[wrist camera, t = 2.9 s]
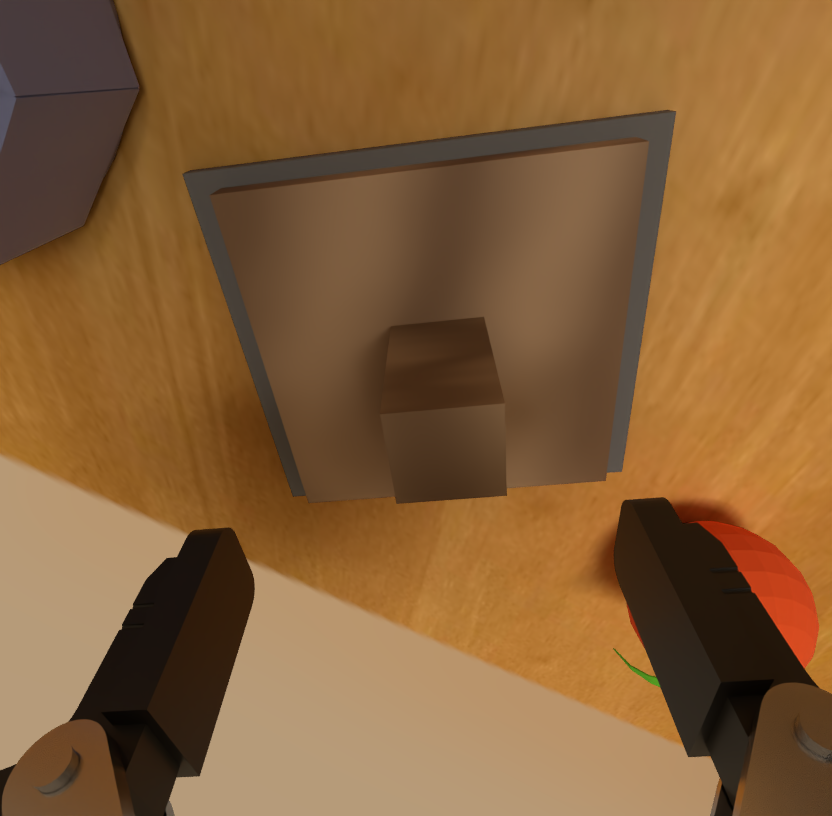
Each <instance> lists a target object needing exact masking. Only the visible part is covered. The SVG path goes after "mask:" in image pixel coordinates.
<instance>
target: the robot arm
mask: <svg viewBox="0 0 832 816" xmlns="http://www.w3.org/2000/svg"><path fill="white" fill-rule="evenodd" d="M614 565H615V571H616V575H617V579H618V582H619V584H620V587H621V589H622V592H623V594H624V597H625V599H626V602H627V604H628V607H629V609H630V612H631V614H632V617H633V619H634V622H635V624H636V627H637V629H638V632H639V635H640V637H641V640H642V642H643V645H644V647H645V650H646V652H647V655H648V657H649V660H650V662H651V665H652V667H653V670H654V672H655V675H656V677H657V680H658V682H659V685H660V687H661V690H662V692H663V695H664V697H665V700H666V702H667V705H668V707H669V710H670V712H671V715H672V717H673V720H674V722H675V725H676V727H677V730H678V732H679V735H680V737H681V740H682V742H683V745H684V747H685V750H686V752H687V755H688V757H700V756H711V758H712V760H713V763H714V765H715V767H716V770H717V772H718V774H719V777H720V779H719V782H718V785H717V789H716V793H715V797H714V802H713V806H712V810H711V814H710V816H832V694H831V693H829V692H827V691H825V690H822V689H820V688H819V687H818V686H817V685H816V684H815V682H814V681H813V680H812V679H811V677H810V676H809V675H808V673H807V672H806V671H805V669H804V668H803V666H802V664H801V663H800V661H799V660H798V658H797V657H796V655H795V654H794V652H793V651H792V649H791V648H790V646H789V645H788V643H787V641H786V640H785V638H784V637H783V635H782V634H781V632H780V631H779V629H778V628H777V626H776V625H775V623H774V622H773V620H772V618H771V617H770V615H769V614H768V612H767V611H766V609H765V608H764V606H763V605H762V603H761V602H760V600H759V599H758V597H757V595H756V594H755V593H753V592H752V591H751V586H750V585H749V583H748V582H747V580H746V579H745V577H744V576H743V574H742V572H739V571H738V566H737V565H736V563H735V562H734V560H733V559H732V557H731V556H730V554H729V553H728V551H727V549H726V548H725V546H724V545H723V543H722V542H721V541H720V540H718V539H717V538H716V537H715V536H713V535H712V534H711V533H710V532H708V531H707V530H706V529H705V528H704V527H702V526H701V525H700V524H699V523H697V522H696V523H682V522H681V520H680V519H679V517H678V515H677V514H676V512H675V510H674V509H673V507H672V505H671V504H670V502H669V501H668V500H667V499H666V498H663V497H661V498H647V499H633V500H625V501H623V503H622V506H621V511H620V517H619V523H618V529H617V535H616V541H615V547H614ZM254 590H255V588H254V578H253V574H252V571H251V569H250V566H249V564H248V562H247V559H246V557H245V555H244V552H243V550H242V548H241V545H240V543H239V541H238V538H237V536H236V534H235V532H234V531H233V529H231V528H217V529H203V530H194V531H192V532H191V533H190V534H189V535H188V536H187V538H186V540H185V542H184V544H183V546H182V548H181V550H180V552H179V554H178V556H177V557H174V558H166V560H165V561H164V562H163V563H162V564H161V565H160V566H159V567H158V568H157V569H156V570H155V571H154V572H153V573H152V574H151V575H150V576H149V577H148V578H147V579H146V581H145V583H144V584H143V586H142V588H141V590H140V592H139V594H138V596H137V598H136V599H135V601H134V603H133V609H130V611H129V613H128V614H127V616H126V618H125V620H124V622H123V624H122V630H119V631H118V633H117V635H116V637H115V639H114V641H113V642H112V645H111V646H110V648H109V650H108V652H107V654H106V656H105V658H104V659H103V661H102V663H101V665H100V667H99V669H98V671H97V673H96V674H95V676H94V678H93V680H92V682H91V684H90V686H89V687H88V690H87V691H86V693H85V695H84V697H83V699H82V701H81V702H80V704H79V706H78V708H77V710H76V711H75V713H74V715H73V716H72V718H71V719H70V720H69V722H67V723H65V724H62V725H60V726H58V727H56V728H55V729H53V730H51V731H50V732H48V733H47V734H45V735H44V736H43V737H41V738H40V739H39V740H38V741H37V742H35V743H34V744H33V745H32V746H31V747H30V748H29V749H28V750H27V751H26V752H25V754H24V755H23V756H22V757H21V758H20V760H19V761H18V763H17V764H15V765H13V766H11V767H8V768H6V769H3V770H0V816H174V812H173V808H172V805H171V803H170V801H169V797H170V795H171V792H172V789H173V786H174V783H175V780H176V777H193V776H200V773H201V770H202V767H203V763H204V760H205V757H206V754H207V750H208V747H209V744H210V740H211V737H212V734H213V731H214V728H215V724H216V721H217V718H218V715H219V711H220V708H221V705H222V701H223V698H224V695H225V692H226V688H227V685H228V682H229V679H230V676H231V672H232V669H233V666H234V662H235V659H236V656H237V653H238V650H239V646H240V643H241V640H242V637H243V633H244V630H245V627H246V624H247V620H248V617H249V614H250V610H251V607H252V604H253V600H254Z"/></svg>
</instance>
